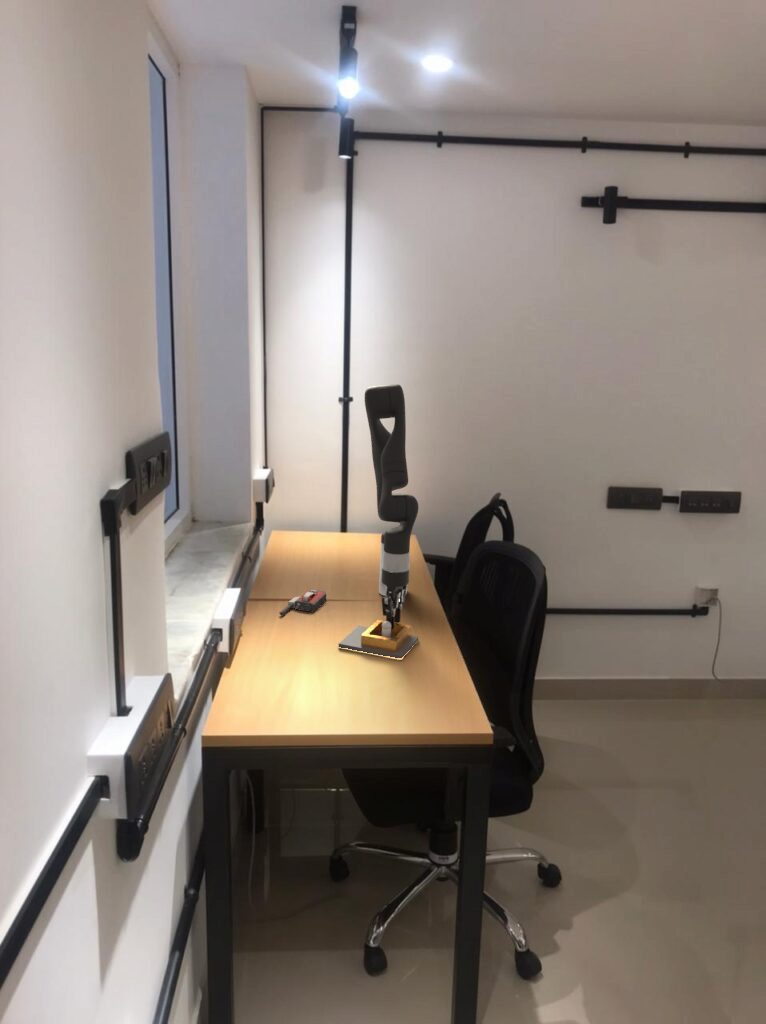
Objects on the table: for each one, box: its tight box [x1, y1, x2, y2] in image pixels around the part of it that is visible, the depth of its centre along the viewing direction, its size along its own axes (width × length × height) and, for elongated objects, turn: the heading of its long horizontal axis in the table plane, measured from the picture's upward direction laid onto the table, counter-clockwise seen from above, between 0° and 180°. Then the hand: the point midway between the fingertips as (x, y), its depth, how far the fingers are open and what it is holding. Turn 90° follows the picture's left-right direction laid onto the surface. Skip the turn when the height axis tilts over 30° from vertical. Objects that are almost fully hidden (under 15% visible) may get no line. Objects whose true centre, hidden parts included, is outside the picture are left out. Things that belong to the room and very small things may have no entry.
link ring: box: [361, 619, 412, 652], centre depth 209 cm, size 12×10×3 cm
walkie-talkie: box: [278, 589, 327, 616], centre depth 235 cm, size 9×4×20 cm
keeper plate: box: [338, 620, 419, 658], centre depth 209 cm, size 14×18×7 cm
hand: (393, 625), depth 213 cm, fingers open, 4 cm apart
